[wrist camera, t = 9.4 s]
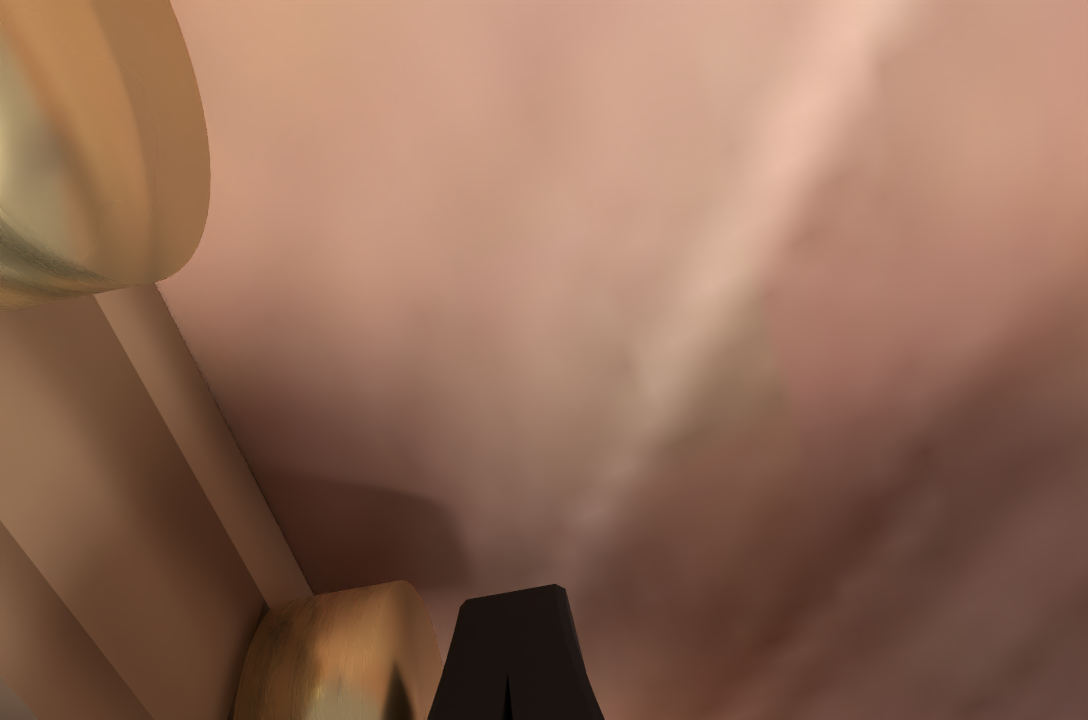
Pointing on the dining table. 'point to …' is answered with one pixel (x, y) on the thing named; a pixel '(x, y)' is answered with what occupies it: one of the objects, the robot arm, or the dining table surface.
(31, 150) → the near plunger
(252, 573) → the wooden board with knobs
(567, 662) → the robot arm
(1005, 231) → the dining table surface
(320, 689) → the far plunger
